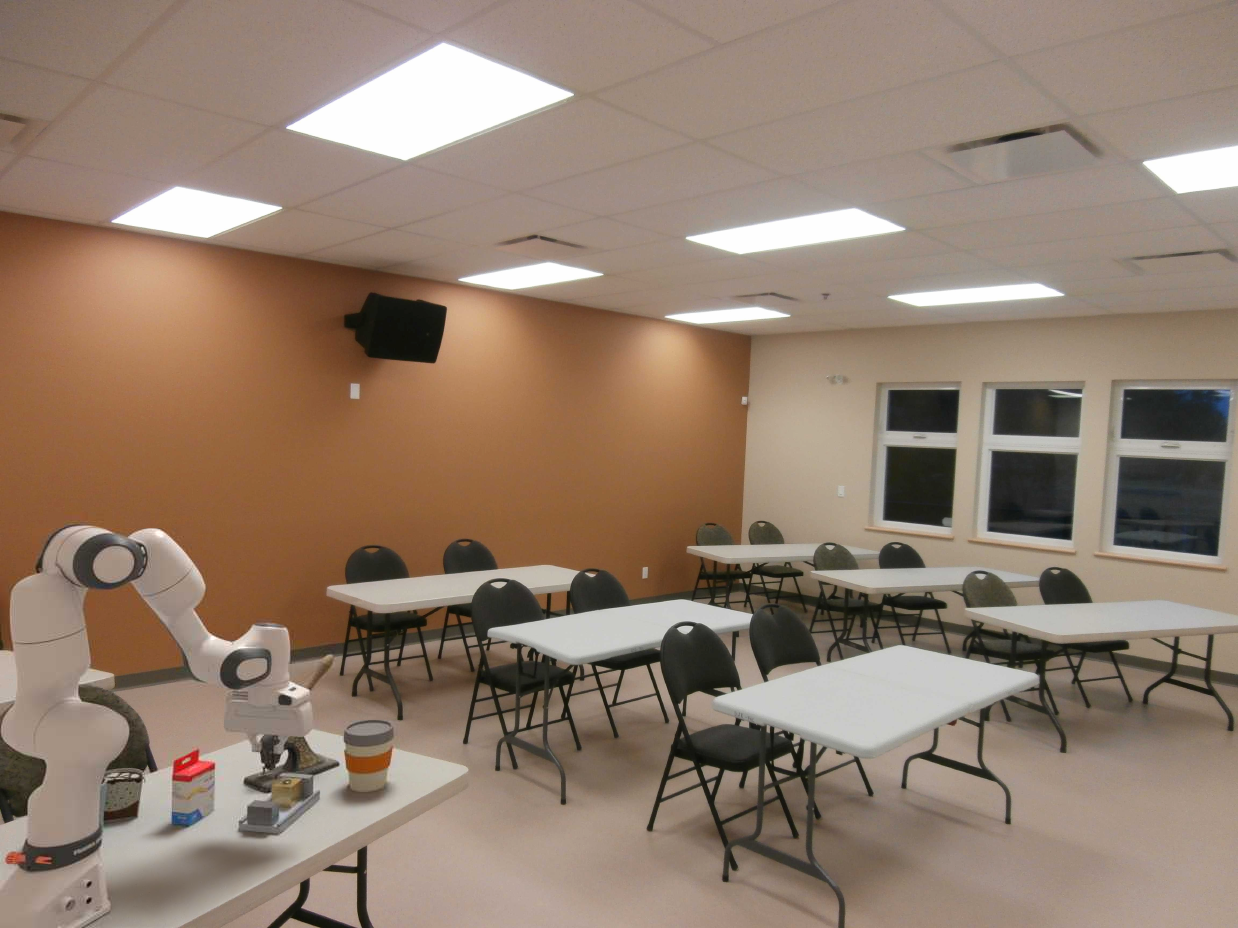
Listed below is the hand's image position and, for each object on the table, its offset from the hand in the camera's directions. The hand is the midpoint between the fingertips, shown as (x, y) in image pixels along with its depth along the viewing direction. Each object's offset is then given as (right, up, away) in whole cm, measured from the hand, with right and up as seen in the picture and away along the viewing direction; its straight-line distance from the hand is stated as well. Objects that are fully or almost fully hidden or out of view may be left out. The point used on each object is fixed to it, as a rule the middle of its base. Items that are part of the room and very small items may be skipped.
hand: (267, 752), depth 180 cm
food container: (-37, -16, +4) cm, 41 cm away
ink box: (-19, -17, +4) cm, 26 cm away
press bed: (0, -17, +6) cm, 18 cm away
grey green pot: (-39, -17, -7) cm, 42 cm away
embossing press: (-6, -17, +29) cm, 34 cm away
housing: (+1, -15, +9) cm, 18 cm away
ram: (0, -15, -1) cm, 15 cm away
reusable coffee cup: (+16, -17, +23) cm, 33 cm away
